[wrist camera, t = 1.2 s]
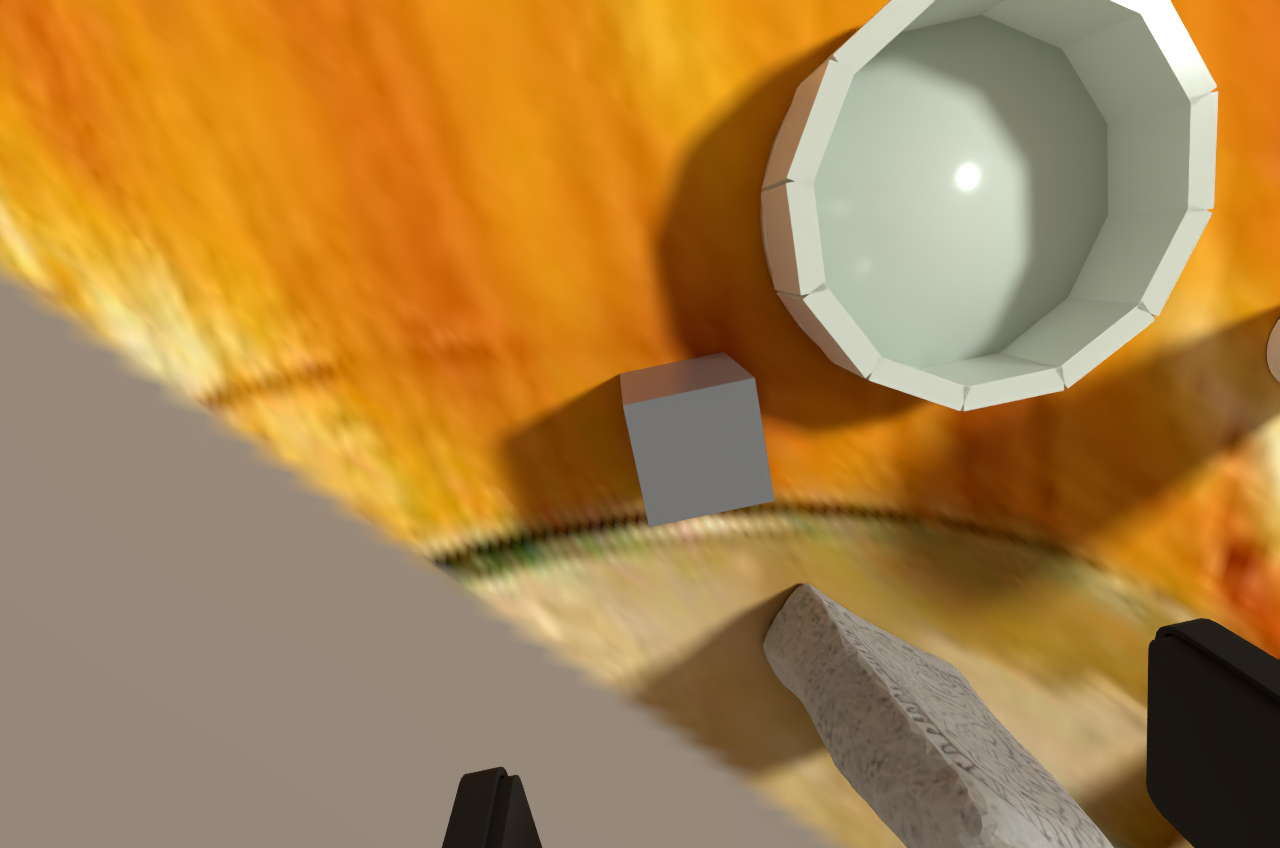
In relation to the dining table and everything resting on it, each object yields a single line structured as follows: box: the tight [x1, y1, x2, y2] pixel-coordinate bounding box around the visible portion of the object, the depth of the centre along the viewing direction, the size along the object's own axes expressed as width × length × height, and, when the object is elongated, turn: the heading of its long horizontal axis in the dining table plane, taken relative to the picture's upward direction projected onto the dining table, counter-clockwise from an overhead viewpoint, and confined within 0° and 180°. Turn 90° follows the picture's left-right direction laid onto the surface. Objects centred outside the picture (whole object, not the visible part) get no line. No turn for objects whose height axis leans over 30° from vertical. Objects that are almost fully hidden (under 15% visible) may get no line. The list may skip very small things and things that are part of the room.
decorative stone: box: [763, 583, 1114, 848], centre depth 27 cm, size 11×6×15 cm, turn 61°
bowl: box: [760, 0, 1218, 411], centre depth 26 cm, size 16×16×5 cm
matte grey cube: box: [620, 352, 774, 527], centre depth 27 cm, size 5×5×6 cm
